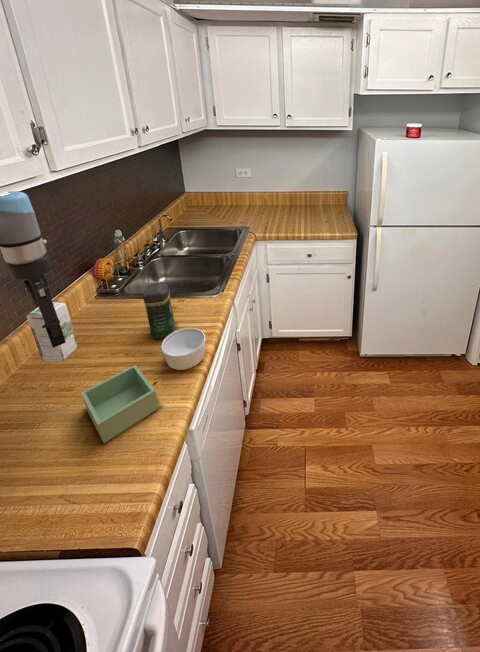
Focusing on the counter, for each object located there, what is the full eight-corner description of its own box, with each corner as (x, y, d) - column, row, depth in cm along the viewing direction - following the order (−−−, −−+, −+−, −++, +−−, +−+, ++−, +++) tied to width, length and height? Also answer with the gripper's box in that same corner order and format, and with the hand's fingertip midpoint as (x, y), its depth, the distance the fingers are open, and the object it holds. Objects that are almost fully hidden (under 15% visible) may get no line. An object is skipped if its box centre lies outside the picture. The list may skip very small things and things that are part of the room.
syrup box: (59, 346, 91) (43, 301, 85) (79, 347, 90) (65, 302, 85) (42, 361, 85) (24, 314, 80) (64, 362, 85) (47, 315, 80)
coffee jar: (174, 337, 117) (166, 292, 110) (150, 342, 114) (139, 296, 108) (176, 321, 125) (169, 278, 118) (153, 325, 123) (144, 281, 116)
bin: (103, 443, 81) (97, 424, 78) (86, 410, 89) (80, 392, 87) (159, 408, 90) (155, 390, 88) (139, 381, 99) (135, 364, 96)
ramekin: (207, 368, 103) (204, 351, 101) (161, 377, 100) (157, 359, 97) (208, 341, 115) (205, 324, 113) (167, 348, 112) (163, 331, 109)
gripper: (57, 266, 73) (83, 348, 82) (38, 241, 86) (62, 314, 95) (13, 279, 68) (46, 365, 77) (0, 249, 81) (29, 326, 90)
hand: (55, 336), depth 86 cm, fingers closed on syrup box, 8 cm apart
